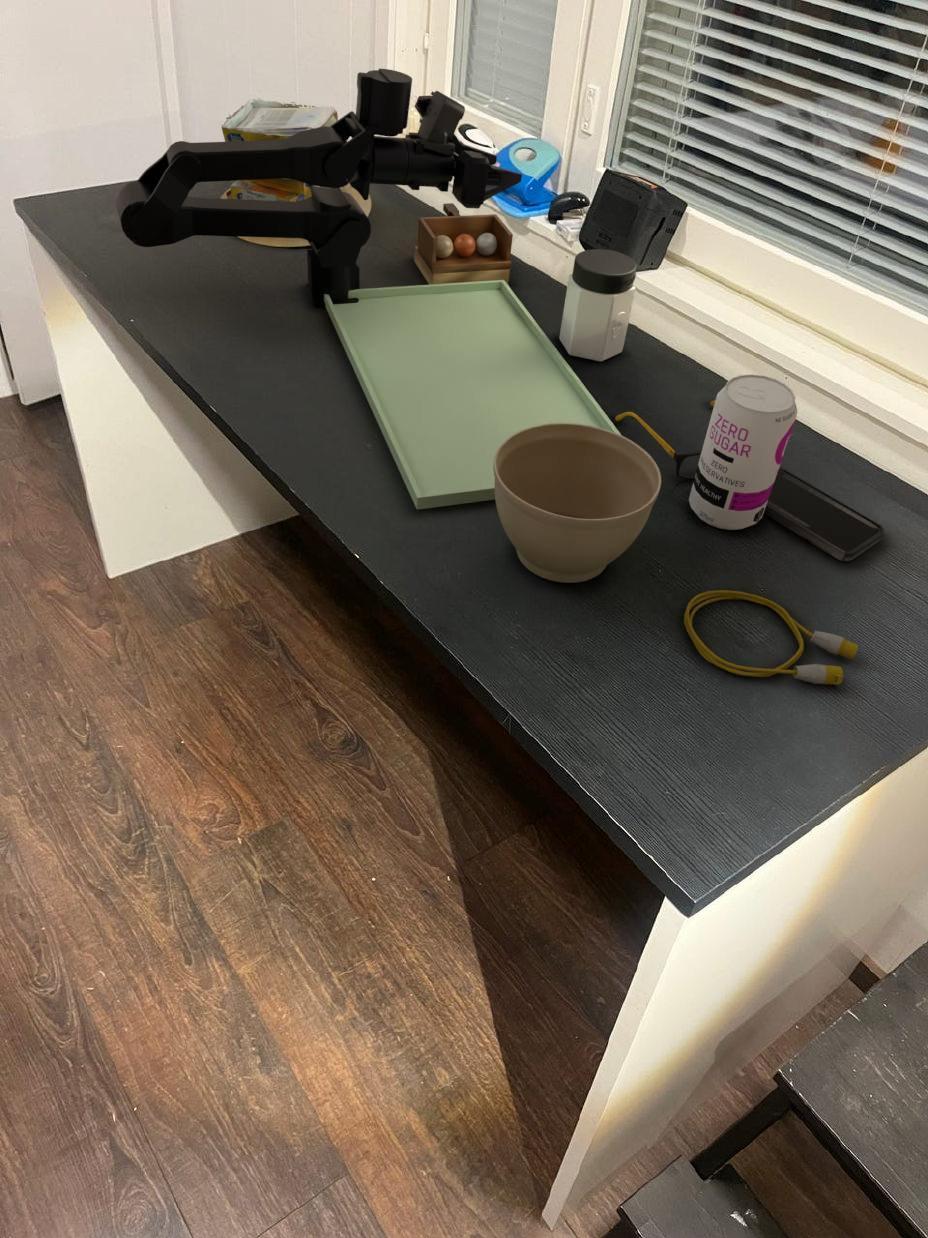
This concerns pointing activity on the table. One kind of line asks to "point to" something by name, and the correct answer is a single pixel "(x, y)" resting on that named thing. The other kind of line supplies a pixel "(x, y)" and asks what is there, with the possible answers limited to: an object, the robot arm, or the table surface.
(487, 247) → the ball
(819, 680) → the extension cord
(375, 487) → the table surface
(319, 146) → the robot arm
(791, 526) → the phone
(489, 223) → the wooden ball box
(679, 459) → the eyeglasses
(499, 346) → the tray
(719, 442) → the supplement can
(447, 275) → the stand
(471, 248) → the ball
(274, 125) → the stacked yellow boxes
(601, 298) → the jar
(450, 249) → the ball
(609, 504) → the planter bowl
